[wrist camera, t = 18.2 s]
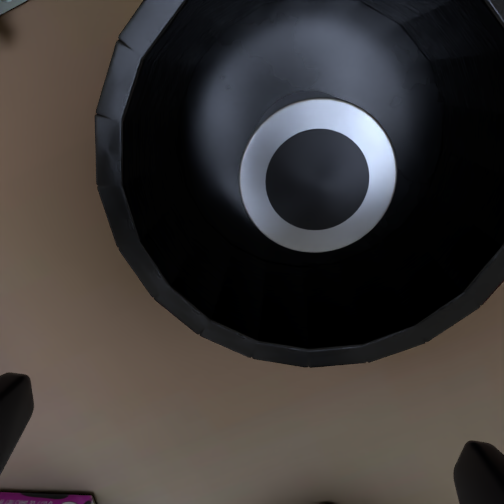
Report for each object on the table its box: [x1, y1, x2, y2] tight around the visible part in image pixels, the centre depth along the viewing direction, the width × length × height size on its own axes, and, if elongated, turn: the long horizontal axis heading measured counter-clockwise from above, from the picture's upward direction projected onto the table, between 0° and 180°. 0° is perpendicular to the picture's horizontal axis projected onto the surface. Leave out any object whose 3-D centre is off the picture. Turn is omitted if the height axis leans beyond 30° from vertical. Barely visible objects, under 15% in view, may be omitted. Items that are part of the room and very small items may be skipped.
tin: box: [95, 0, 504, 368], centre depth 12 cm, size 11×11×6 cm
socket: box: [238, 91, 397, 253], centre depth 12 cm, size 4×4×5 cm
